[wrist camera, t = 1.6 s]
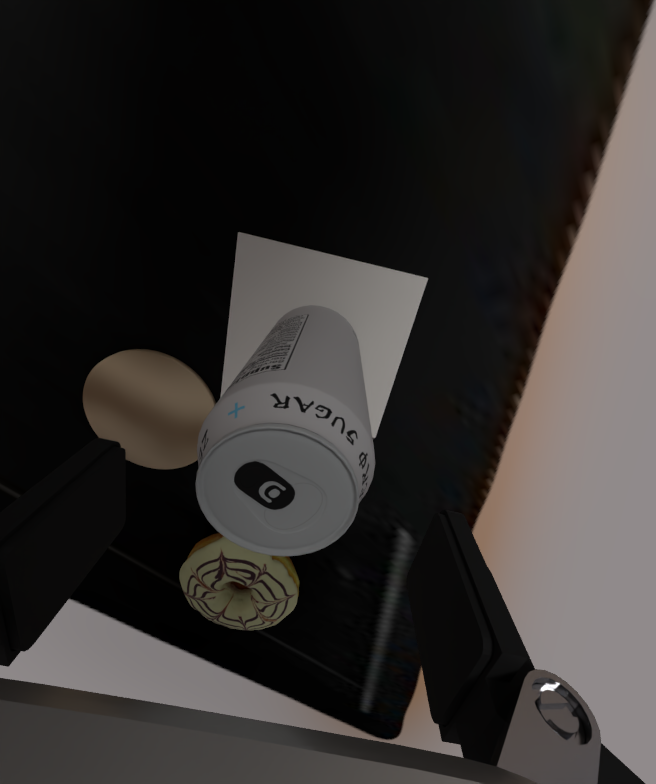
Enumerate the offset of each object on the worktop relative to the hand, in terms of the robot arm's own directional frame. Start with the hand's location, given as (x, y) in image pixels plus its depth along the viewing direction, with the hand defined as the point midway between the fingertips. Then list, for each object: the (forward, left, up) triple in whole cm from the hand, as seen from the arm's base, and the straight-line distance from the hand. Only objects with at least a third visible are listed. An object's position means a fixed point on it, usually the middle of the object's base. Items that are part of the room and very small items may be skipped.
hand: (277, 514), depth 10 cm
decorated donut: (+22, -2, -16) cm, 28 cm away
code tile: (-1, 0, -15) cm, 15 cm away
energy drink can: (-1, 0, -15) cm, 15 cm away
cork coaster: (+7, -11, -15) cm, 20 cm away
